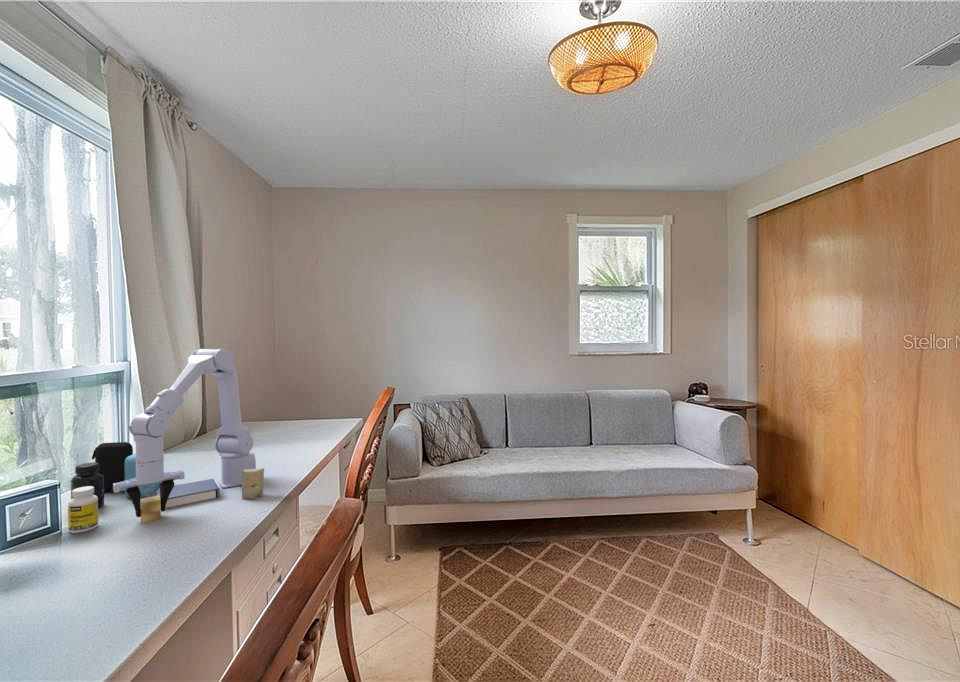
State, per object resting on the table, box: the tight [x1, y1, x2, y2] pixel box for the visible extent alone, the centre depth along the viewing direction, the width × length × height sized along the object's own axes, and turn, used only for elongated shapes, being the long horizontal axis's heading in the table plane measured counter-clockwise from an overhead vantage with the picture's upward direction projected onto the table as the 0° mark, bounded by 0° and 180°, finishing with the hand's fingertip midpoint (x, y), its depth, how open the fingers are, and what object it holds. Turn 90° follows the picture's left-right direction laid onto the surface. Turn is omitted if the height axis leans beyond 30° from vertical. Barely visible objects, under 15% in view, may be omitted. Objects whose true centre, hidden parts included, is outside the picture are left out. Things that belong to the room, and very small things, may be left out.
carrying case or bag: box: [91, 441, 134, 493], centre depth 133 cm, size 11×3×15 cm, turn 100°
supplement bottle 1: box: [70, 461, 105, 510], centre depth 120 cm, size 7×7×12 cm
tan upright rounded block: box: [241, 467, 265, 500], centre depth 128 cm, size 6×5×8 cm
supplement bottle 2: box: [67, 486, 99, 534], centre depth 107 cm, size 5×5×10 cm
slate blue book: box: [156, 478, 220, 510], centre depth 127 cm, size 14×11×3 cm
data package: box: [124, 452, 160, 499], centre depth 132 cm, size 12×4×12 cm, turn 12°
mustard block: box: [140, 495, 162, 524], centre depth 113 cm, size 4×4×5 cm
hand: (150, 513), depth 113 cm, fingers closed on mustard block, 4 cm apart
